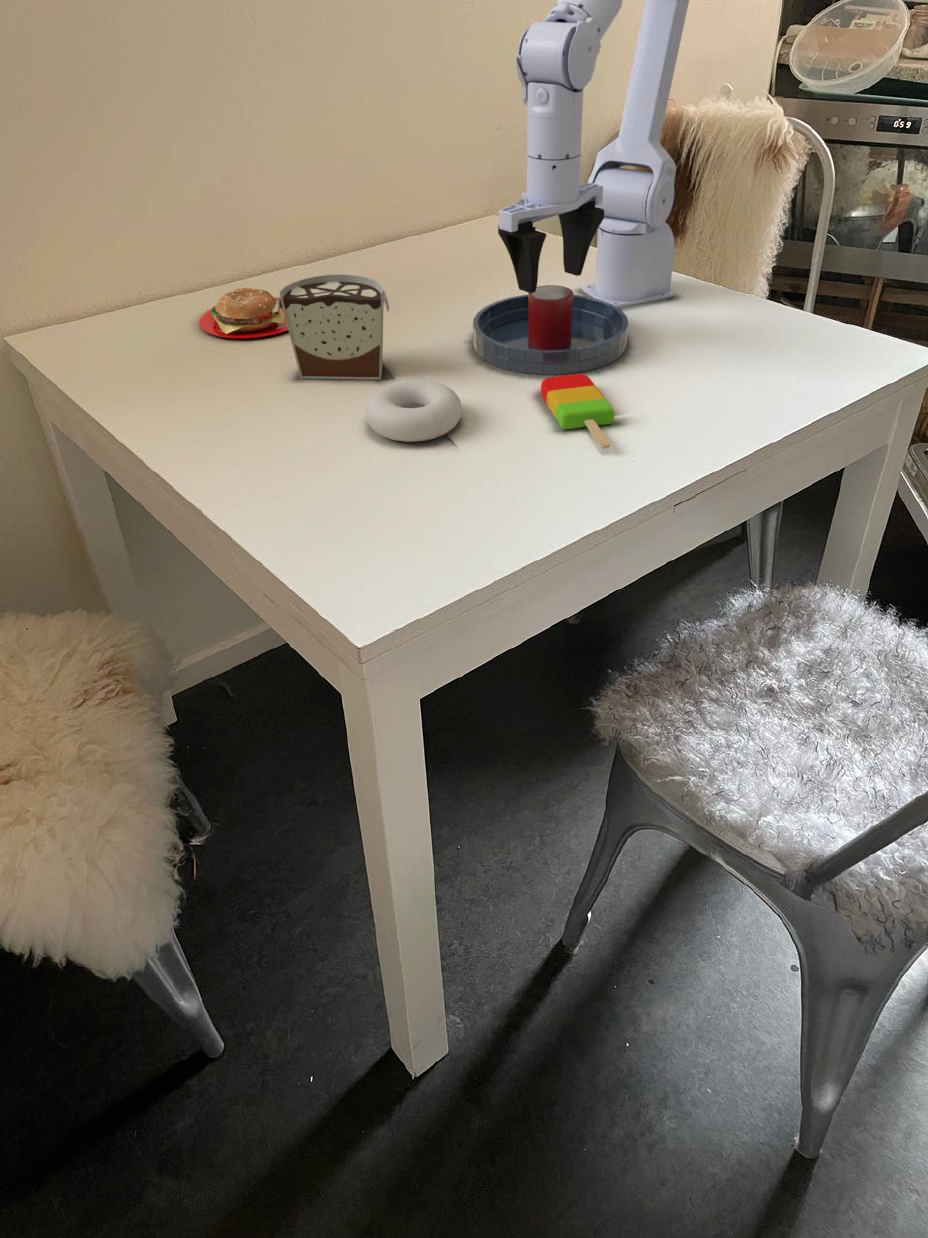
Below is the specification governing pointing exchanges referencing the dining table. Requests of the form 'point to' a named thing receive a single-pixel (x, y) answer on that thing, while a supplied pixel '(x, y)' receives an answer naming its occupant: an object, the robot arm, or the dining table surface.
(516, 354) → the dark blue round plate
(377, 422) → the donut
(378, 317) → the food container
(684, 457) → the dining table surface
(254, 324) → the hamburger
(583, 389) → the popsicle
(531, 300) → the can
